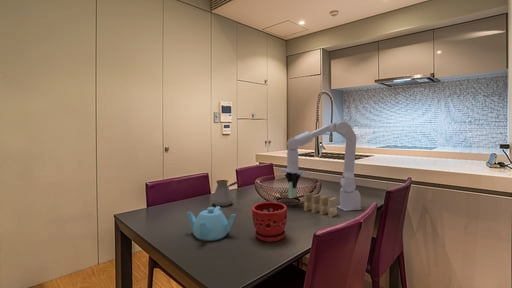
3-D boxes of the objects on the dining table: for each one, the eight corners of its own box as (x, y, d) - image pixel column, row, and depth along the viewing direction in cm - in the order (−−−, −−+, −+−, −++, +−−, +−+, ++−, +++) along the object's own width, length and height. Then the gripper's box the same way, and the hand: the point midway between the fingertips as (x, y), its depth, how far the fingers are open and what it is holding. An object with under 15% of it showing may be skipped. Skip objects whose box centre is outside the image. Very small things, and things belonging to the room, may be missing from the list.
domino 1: (303, 210, 140) (303, 194, 140) (309, 208, 144) (309, 192, 143) (306, 211, 139) (306, 195, 138) (312, 208, 142) (312, 193, 142)
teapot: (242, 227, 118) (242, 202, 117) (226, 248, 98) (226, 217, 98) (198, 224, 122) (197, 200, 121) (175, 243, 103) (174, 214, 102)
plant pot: (254, 230, 114) (254, 201, 114) (287, 231, 113) (286, 201, 112) (250, 244, 101) (249, 211, 101) (287, 245, 100) (287, 211, 99)
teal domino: (288, 197, 145) (288, 182, 145) (294, 196, 149) (294, 180, 148) (291, 198, 144) (291, 182, 144) (296, 196, 148) (297, 181, 147)
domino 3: (319, 214, 134) (319, 197, 133) (325, 211, 137) (325, 195, 137) (322, 215, 133) (322, 198, 132) (328, 212, 136) (328, 196, 136)
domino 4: (328, 216, 131) (328, 199, 130) (333, 213, 134) (333, 197, 134) (331, 217, 130) (331, 200, 129) (336, 214, 133) (336, 197, 133)
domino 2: (311, 212, 137) (311, 196, 136) (317, 210, 140) (317, 194, 140) (314, 213, 136) (314, 196, 135) (320, 210, 139) (320, 194, 139)
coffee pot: (207, 204, 153) (207, 176, 152) (225, 200, 160) (225, 174, 159) (230, 213, 136) (229, 182, 135) (248, 209, 144) (248, 179, 143)
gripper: (276, 161, 147) (277, 186, 148) (299, 163, 137) (300, 191, 138) (285, 159, 152) (285, 184, 153) (308, 162, 142) (308, 188, 143)
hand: (292, 187), depth 146 cm, fingers closed on teal domino, 1 cm apart
